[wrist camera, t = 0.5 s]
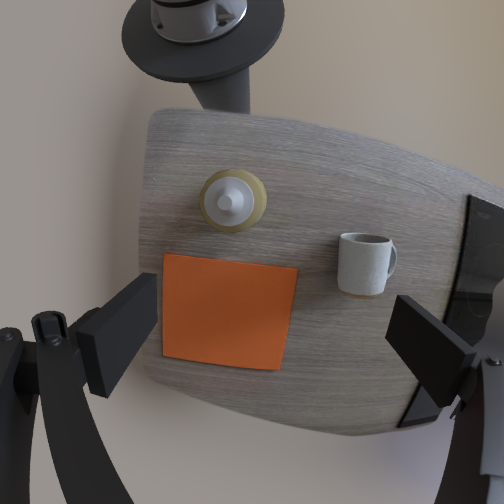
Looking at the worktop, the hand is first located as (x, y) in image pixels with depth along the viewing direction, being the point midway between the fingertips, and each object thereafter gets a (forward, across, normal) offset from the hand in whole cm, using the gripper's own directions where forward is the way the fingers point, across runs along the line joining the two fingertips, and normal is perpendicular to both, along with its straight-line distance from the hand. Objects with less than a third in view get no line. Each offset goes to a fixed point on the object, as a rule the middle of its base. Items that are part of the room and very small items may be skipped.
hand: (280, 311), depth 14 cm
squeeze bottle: (+27, -4, +4) cm, 28 cm away
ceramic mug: (+27, +16, -2) cm, 31 cm away
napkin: (+27, -4, -14) cm, 30 cm away
